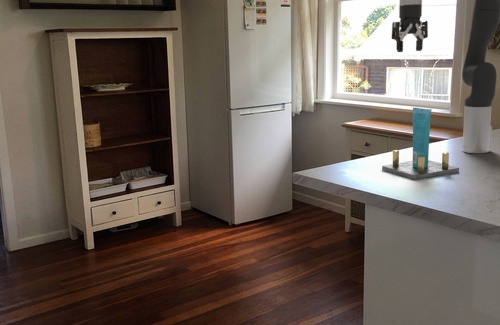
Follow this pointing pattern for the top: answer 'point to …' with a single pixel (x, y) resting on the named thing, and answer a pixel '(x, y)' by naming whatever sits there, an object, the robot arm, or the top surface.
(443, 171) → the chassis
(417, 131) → the tube
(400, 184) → the top surface
